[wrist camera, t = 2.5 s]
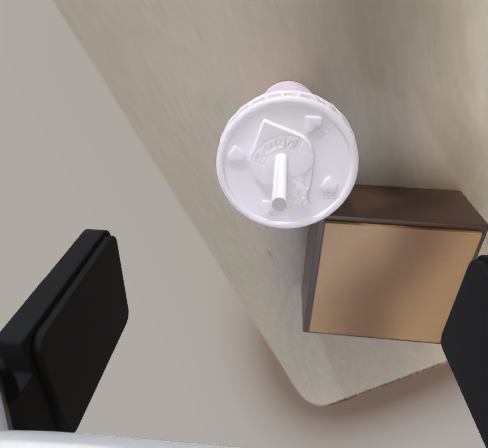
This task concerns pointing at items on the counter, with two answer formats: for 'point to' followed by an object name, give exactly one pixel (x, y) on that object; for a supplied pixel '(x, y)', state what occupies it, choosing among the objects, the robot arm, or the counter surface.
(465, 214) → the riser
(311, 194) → the smoothie
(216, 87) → the counter surface
